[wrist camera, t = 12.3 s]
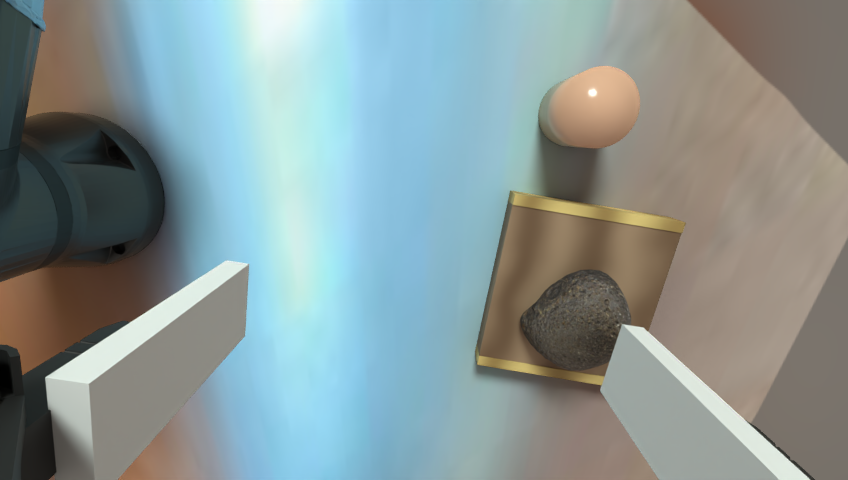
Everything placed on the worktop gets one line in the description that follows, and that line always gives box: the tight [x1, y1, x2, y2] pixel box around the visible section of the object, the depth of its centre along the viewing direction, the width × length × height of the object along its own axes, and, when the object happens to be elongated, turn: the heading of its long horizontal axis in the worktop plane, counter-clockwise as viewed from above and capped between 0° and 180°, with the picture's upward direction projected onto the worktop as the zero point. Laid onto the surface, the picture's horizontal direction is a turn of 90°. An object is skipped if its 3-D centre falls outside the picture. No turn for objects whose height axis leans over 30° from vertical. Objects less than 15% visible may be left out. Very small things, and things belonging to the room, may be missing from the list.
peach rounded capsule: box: [538, 66, 640, 148], centre depth 34 cm, size 6×6×7 cm
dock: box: [475, 191, 685, 385], centre depth 40 cm, size 16×18×3 cm
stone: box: [520, 269, 631, 371], centre depth 38 cm, size 10×8×10 cm
